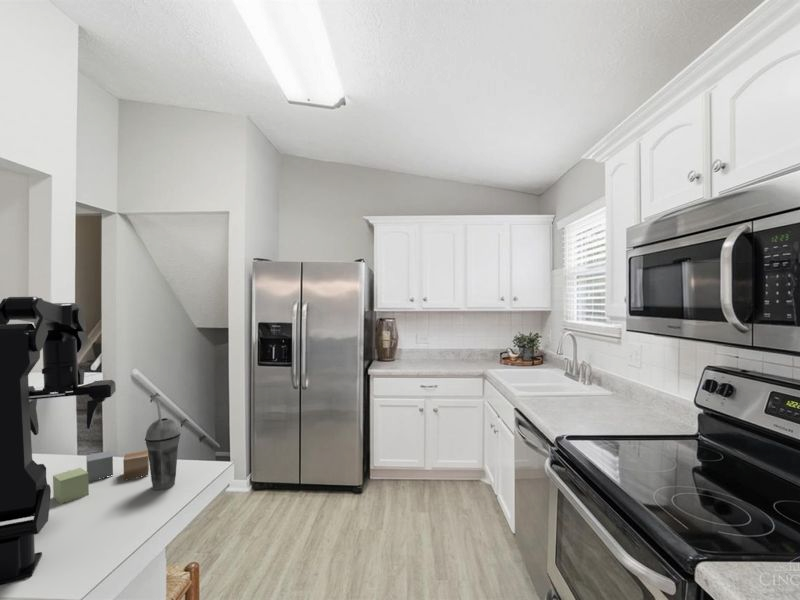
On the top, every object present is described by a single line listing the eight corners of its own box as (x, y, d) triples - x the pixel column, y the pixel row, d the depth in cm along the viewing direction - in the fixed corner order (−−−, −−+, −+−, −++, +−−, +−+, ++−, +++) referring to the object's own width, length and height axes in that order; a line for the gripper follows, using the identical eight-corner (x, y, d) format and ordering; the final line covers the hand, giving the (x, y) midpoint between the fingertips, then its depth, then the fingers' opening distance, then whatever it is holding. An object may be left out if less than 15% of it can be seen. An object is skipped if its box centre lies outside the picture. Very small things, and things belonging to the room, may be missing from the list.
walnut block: (148, 476, 102) (147, 455, 102) (123, 480, 100) (123, 460, 100) (148, 468, 106) (148, 449, 106) (125, 473, 104) (125, 453, 104)
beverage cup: (188, 480, 99) (187, 397, 99) (163, 494, 92) (162, 404, 92) (164, 477, 101) (162, 395, 101) (137, 491, 94) (136, 403, 94)
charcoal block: (113, 476, 102) (112, 456, 102) (87, 482, 99) (87, 461, 99) (111, 470, 106) (110, 450, 106) (86, 475, 103) (86, 455, 103)
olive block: (88, 495, 93) (88, 472, 93) (60, 504, 88) (60, 481, 88) (80, 489, 95) (80, 467, 95) (53, 498, 91) (52, 475, 91)
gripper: (119, 351, 101) (121, 414, 102) (20, 356, 93) (23, 424, 94) (109, 360, 90) (111, 430, 92) (-3, 367, 83) (0, 443, 84)
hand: (63, 431), depth 90 cm, fingers open, 9 cm apart
